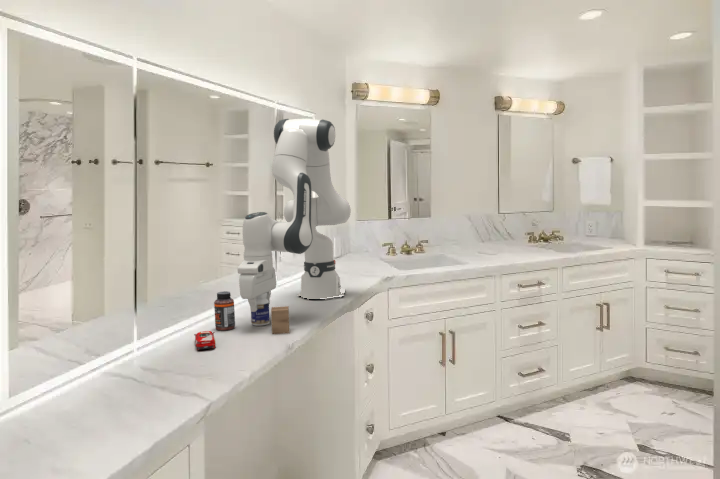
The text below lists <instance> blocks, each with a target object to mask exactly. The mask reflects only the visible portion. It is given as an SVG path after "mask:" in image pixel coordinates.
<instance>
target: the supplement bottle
mask: <svg viewBox="0 0 720 479" xmlns="http://www.w3.org/2000/svg"><path fill="white" fill-rule="evenodd" d="M216 296H217V297H216V299H215V300H214V302H213V305H214V306H213V307H214V309H213V310H214V325H215V326H214V328H215V330H216V331H221V332H222V331H223V332H224V331H230V330H233V329H235V328H236V318H235V317H236V316H235V313H236V312H235V301H234V299H233V298H231V296H232V295H231V291H219V292H217V293H216Z"/></svg>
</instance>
